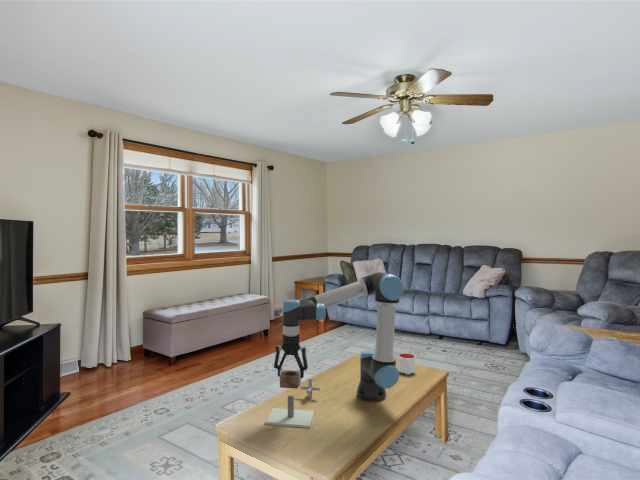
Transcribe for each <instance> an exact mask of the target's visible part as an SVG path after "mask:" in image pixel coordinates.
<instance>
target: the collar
mask: <svg viewBox="0 0 640 480" xmlns="http://www.w3.org/2000/svg"><path fill="white" fill-rule="evenodd" d="M299 387H300V386H299V370H288V369H283V373H282V374H281V376H280V377H279V388H282V389H283V388H284V389H295V390H296V389H297V390H298V389H299Z"/></svg>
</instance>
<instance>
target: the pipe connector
mask: <svg viewBox="0 0 640 480" xmlns="http://www.w3.org/2000/svg"><path fill="white" fill-rule="evenodd" d="M299 387H300V390H306V392H305V393H306V394H307V395H308V399H313V391H318V392H320V391H321V387H320V386H315V383H314V382H313V377H308V385H302V384H301V386H299Z"/></svg>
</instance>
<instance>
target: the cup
mask: <svg viewBox="0 0 640 480" xmlns="http://www.w3.org/2000/svg"><path fill="white" fill-rule="evenodd" d="M397 357H398V358H397V369H398V371H399V373H400V372H401V373H400V374H402V373H405V374H404V375H412V374H411V373H413V374H414V373H415V371H416V355H414V354H412V353H404V352H403V353H399V354H398V355H397Z"/></svg>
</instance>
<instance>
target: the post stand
mask: <svg viewBox="0 0 640 480" xmlns="http://www.w3.org/2000/svg"><path fill="white" fill-rule="evenodd" d="M315 414H316V411H315V410H305V409H295V396H294V395H291V394H290V395H288V396H287V408H280V407H278V408H277V407H273V408H272V410H271V411H270V413H269V415H268V417H267V418H266V420H265V421H264V424H265V425H268V426H269V425H270V426H280V427H292V428H305V429H307V428H308V429H311V425H312V423H313V420H314V418H315Z"/></svg>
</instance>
